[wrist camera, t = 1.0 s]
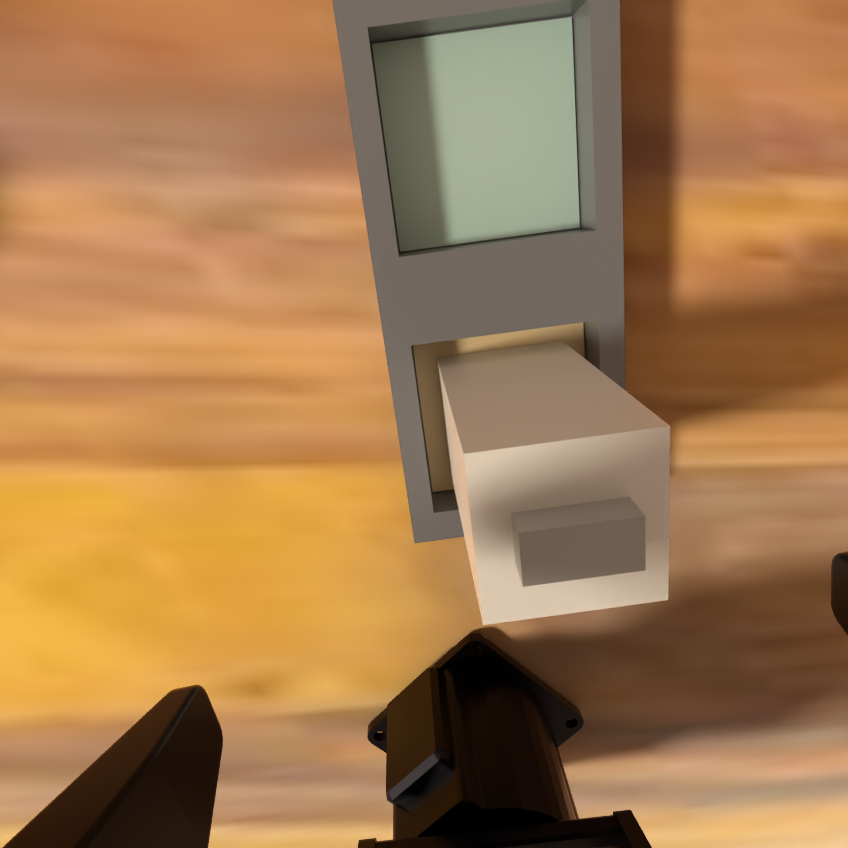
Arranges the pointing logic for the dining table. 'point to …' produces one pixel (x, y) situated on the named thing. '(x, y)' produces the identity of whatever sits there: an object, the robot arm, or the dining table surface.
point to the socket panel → (485, 196)
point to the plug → (555, 483)
